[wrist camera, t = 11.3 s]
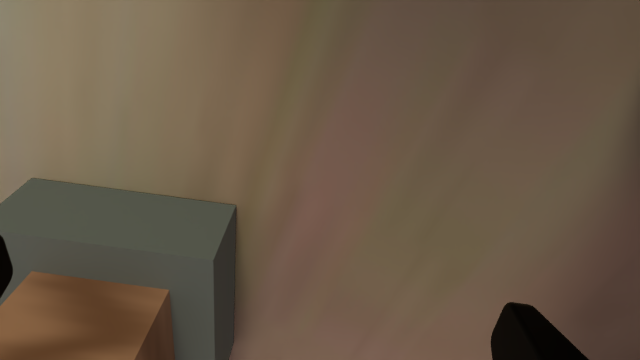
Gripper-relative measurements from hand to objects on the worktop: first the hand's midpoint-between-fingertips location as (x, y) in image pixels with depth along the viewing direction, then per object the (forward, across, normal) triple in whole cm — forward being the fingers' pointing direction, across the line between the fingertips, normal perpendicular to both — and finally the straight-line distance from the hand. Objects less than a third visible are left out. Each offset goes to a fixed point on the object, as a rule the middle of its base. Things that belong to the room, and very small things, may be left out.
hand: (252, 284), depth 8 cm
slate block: (+12, +8, +12) cm, 19 cm away
